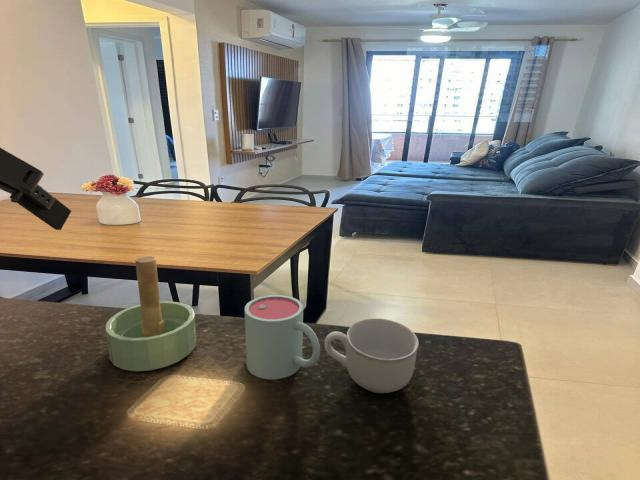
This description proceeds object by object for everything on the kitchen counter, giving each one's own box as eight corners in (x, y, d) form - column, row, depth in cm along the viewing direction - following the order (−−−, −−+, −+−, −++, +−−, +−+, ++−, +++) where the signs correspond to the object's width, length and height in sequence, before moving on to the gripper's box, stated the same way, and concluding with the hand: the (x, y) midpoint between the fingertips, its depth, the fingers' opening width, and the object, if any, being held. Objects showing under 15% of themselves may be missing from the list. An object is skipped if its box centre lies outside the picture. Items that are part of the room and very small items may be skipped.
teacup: (417, 368, 63) (421, 325, 60) (409, 413, 53) (415, 362, 50) (335, 351, 67) (337, 310, 65) (315, 389, 57) (316, 342, 55)
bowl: (92, 358, 63) (86, 325, 61) (159, 323, 74) (156, 295, 73) (148, 384, 57) (144, 349, 55) (212, 342, 68) (211, 312, 67)
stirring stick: (140, 350, 64) (129, 261, 60) (151, 341, 67) (141, 255, 63) (159, 353, 64) (149, 263, 59) (169, 343, 66) (161, 257, 62)
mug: (234, 364, 62) (232, 308, 59) (273, 340, 69) (273, 290, 67) (298, 400, 54) (299, 338, 52) (335, 369, 62) (338, 314, 59)
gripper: (-372, 94, 29) (-82, 233, 47) (-127, 100, 24) (90, 252, 43) (-283, 33, 32) (-45, 184, 51) (-54, 28, 28) (118, 197, 46)
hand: (17, 216), depth 47 cm, fingers open, 13 cm apart
